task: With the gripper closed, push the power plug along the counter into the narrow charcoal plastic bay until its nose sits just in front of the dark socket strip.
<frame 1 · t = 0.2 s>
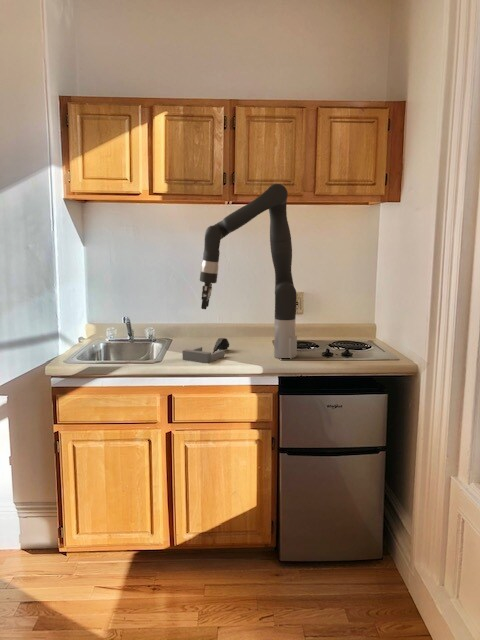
hand: (204, 307, 226), 22 cm above the counter, tool pointing down, fingers open, 8 cm apart
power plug: (219, 353, 236), on the counter
socket bay: (203, 358, 225), on the counter
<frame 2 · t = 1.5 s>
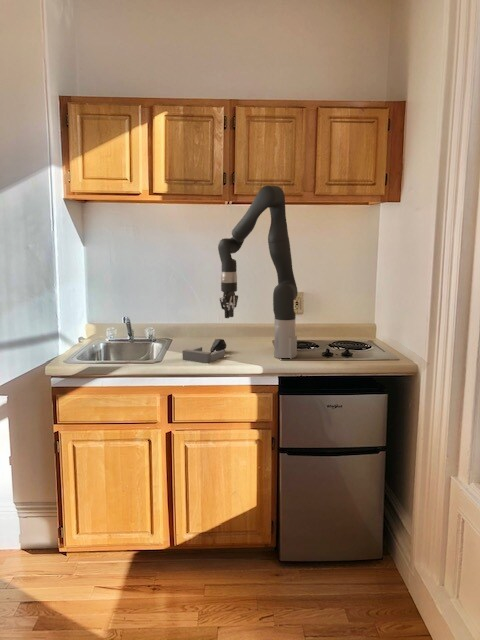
hand: (229, 317, 242), 15 cm above the counter, tool pointing down, fingers open, 3 cm apart
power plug: (216, 354, 234), on the counter
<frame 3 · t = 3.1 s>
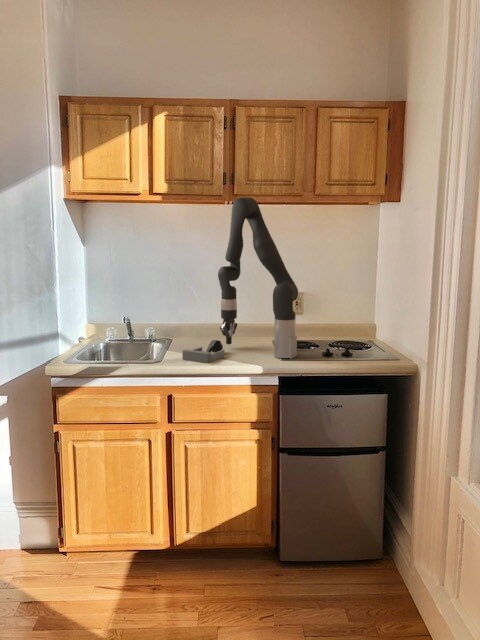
hand: (228, 344, 244), 2 cm above the counter, tool pointing down, fingers closed
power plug: (212, 355, 231), on the counter
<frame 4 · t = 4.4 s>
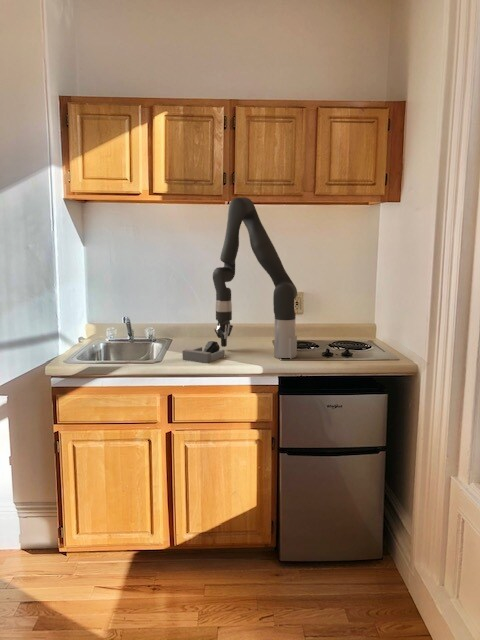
hand: (223, 346, 240), 2 cm above the counter, tool pointing down, fingers closed
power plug: (209, 356, 229), on the counter
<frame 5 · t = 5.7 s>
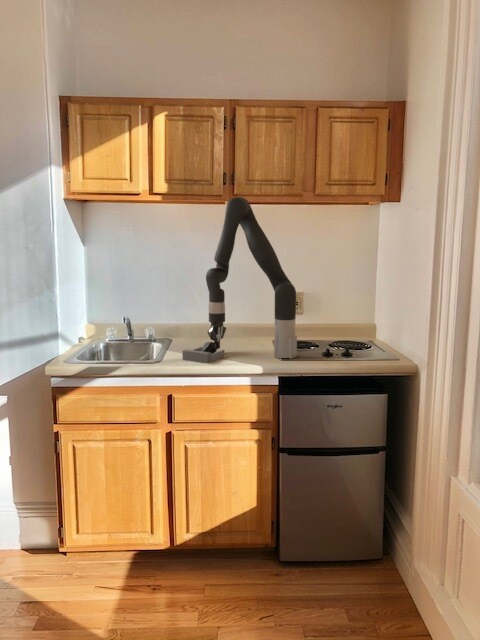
hand: (217, 348, 235), 2 cm above the counter, tool pointing down, fingers closed
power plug: (206, 357, 227), on the counter
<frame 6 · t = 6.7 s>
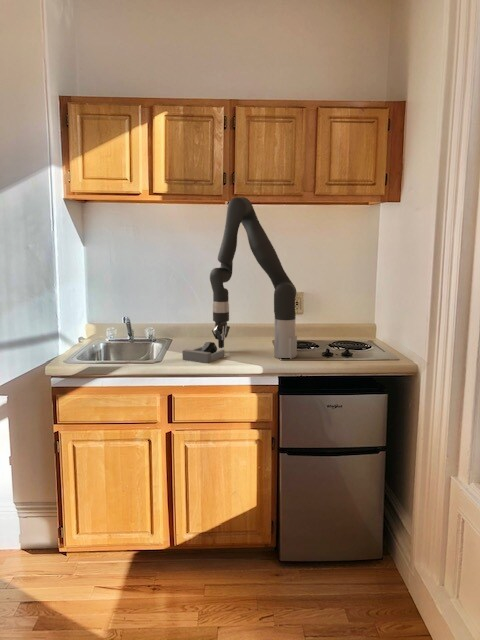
hand: (221, 347, 237), 2 cm above the counter, tool pointing down, fingers closed
nothing on the counter moved.
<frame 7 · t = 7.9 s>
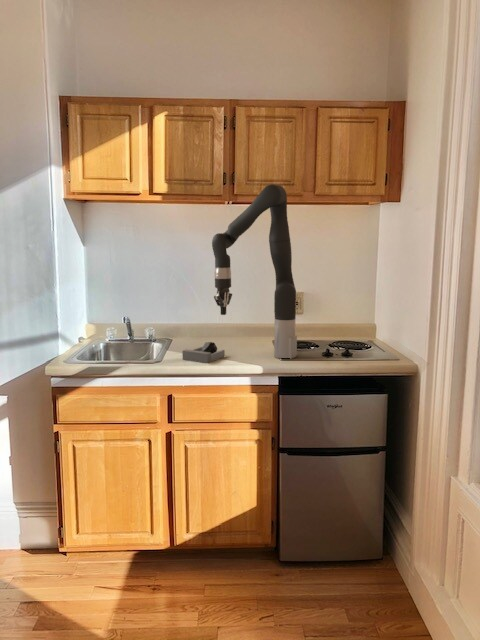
hand: (223, 314, 236), 17 cm above the counter, tool pointing down, fingers closed
nothing on the counter moved.
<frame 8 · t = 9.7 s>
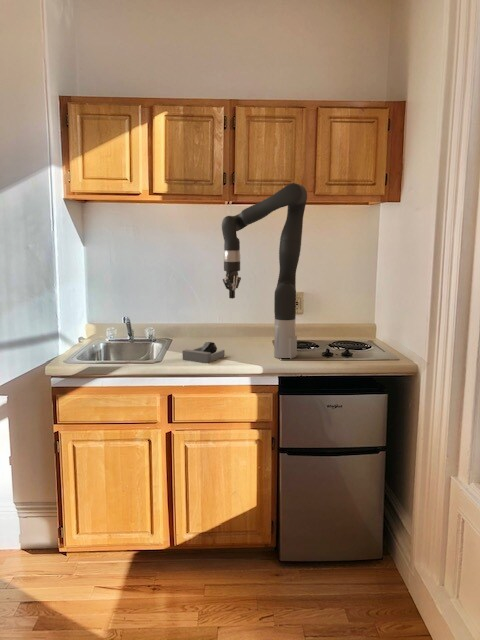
hand: (232, 298, 235), 25 cm above the counter, tool pointing down, fingers closed
nothing on the counter moved.
at the end: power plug 0.4 cm from the target spot on the socket bay, point 0.0 cm above the socket bay's base; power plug moved 11.9 cm from its start; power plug tilted 0° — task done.
